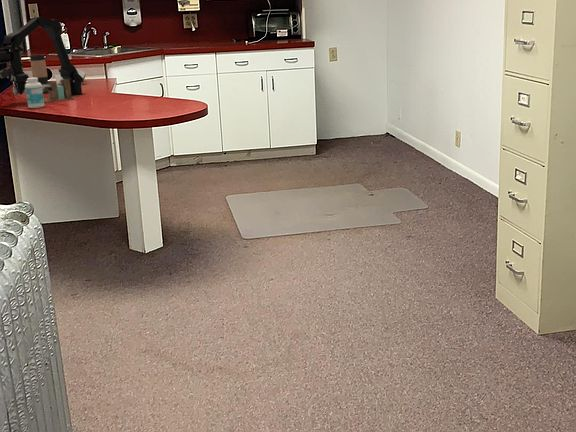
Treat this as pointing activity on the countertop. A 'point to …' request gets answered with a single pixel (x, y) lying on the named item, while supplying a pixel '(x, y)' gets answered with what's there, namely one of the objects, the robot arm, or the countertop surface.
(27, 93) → the pill bottle
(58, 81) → the sculpture
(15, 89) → the shaft
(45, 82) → the travel mug
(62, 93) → the collar
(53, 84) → the bearing stand
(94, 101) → the countertop surface
